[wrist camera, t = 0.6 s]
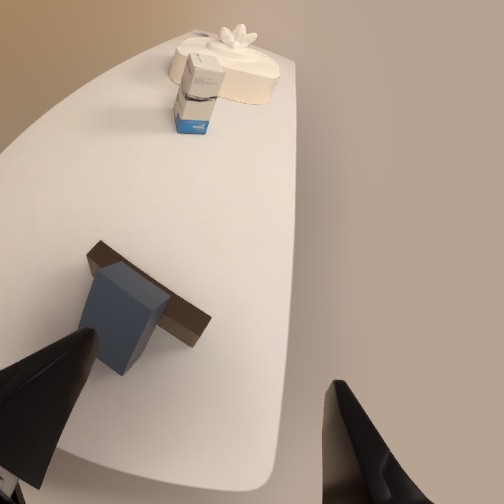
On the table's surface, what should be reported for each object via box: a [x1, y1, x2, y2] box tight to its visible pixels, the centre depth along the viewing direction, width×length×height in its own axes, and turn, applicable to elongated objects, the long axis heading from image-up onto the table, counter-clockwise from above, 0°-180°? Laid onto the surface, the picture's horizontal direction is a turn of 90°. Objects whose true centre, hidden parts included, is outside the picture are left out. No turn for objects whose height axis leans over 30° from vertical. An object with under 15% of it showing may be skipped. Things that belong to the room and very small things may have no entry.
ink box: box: [174, 53, 225, 134], centre depth 38 cm, size 8×5×12 cm, turn 17°
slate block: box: [78, 261, 171, 376], centre depth 19 cm, size 7×5×8 cm
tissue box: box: [169, 24, 281, 104], centre depth 52 cm, size 25×25×16 cm
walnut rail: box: [86, 240, 212, 347], centre depth 23 cm, size 2×12×4 cm, turn 64°
